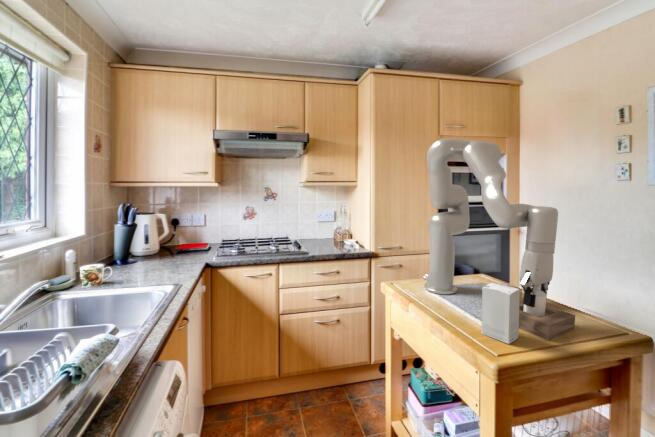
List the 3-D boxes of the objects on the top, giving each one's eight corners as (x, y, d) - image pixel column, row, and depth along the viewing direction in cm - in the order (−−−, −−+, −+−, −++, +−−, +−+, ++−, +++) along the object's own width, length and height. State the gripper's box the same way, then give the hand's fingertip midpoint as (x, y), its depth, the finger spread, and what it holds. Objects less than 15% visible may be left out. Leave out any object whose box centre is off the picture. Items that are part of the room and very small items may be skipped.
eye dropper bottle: (543, 320, 99) (547, 282, 97) (522, 315, 102) (525, 278, 100) (544, 315, 102) (548, 278, 100) (524, 310, 105) (527, 275, 104)
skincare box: (518, 339, 93) (522, 289, 91) (508, 345, 89) (512, 293, 87) (489, 327, 100) (492, 281, 98) (479, 333, 96) (482, 285, 94)
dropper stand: (495, 318, 106) (496, 305, 105) (521, 309, 112) (522, 297, 112) (547, 340, 92) (549, 325, 91) (573, 329, 98) (575, 315, 98)
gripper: (543, 242, 106) (537, 295, 109) (510, 247, 98) (505, 304, 101) (568, 246, 100) (562, 302, 102) (536, 253, 92) (530, 314, 94)
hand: (534, 303), depth 101 cm, fingers closed on eye dropper bottle, 5 cm apart
